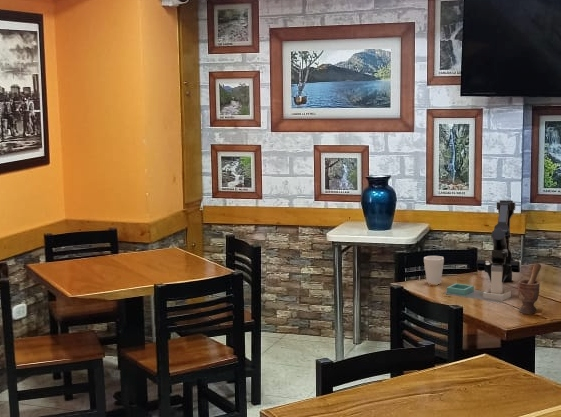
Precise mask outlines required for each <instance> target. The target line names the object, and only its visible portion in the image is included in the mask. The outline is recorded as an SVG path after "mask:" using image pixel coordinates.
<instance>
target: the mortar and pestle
mask: <svg viewBox="0 0 561 417" xmlns="http://www.w3.org/2000/svg"><path fill="white" fill-rule="evenodd" d="M541 268H542V265H541V264H540V263H537V262H536V263H535V264H534V265H533V268H532V271H531V275H530V278H529V279H520V280H518V282H517V295H518V297H519V300H520V301H521V303H522V305H521V306H520V307H519V308H518V312H519V313H520V314H521V313H522V314H523V315H534V314H536V313H537V310H538V309H537V307H535V303H536V302H537V301H538V299H539V296H540V289H541V288H540V285H541V284H540V281H538V280H536V279H537V277H538V274H539V273H540V271H541Z"/></svg>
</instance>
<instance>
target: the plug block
mask: <svg viewBox="0 0 561 417" xmlns="http://www.w3.org/2000/svg"><path fill="white" fill-rule="evenodd" d="M502 276H503V265H492V267H491V281H490V289H491V293H492V294H499V295H502V294H503V290H504V288H503V285H504V283H502Z"/></svg>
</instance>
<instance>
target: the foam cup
mask: <svg viewBox="0 0 561 417" xmlns="http://www.w3.org/2000/svg"><path fill="white" fill-rule="evenodd" d="M423 263H424V264H423V265H424V271H425V277H426V278H425V279H426V283H427V282H428V283H431V284H439V283H442V277H443V276H442V275H443V269H444V263H445V258H444V256H440V255H427V256H424V257H423Z"/></svg>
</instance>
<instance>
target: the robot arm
mask: <svg viewBox="0 0 561 417" xmlns="http://www.w3.org/2000/svg"><path fill="white" fill-rule="evenodd" d="M496 211H498V212H497V213H498V220H497V223H496V224H495V225H494V227H493V228H494V229H493V230H492V232H491V235H490V236H491V237H490V238H491V239H492V245H493V249H492V250H491V257H490V258H491V259H490V260H491V262H490V261H487V260H486V259H483V258H481V259H480V258H478V259H476V264H475V266H476V270H477V271H478V272H480V271H481V272H482V271H483V272H484V273H487V276H488V277H489V278H488V279H489V280H490V282H491V267H492V265H503V276H502V283H503V284H504V283H506V284H507V283H514V280H513V273H521V263H520V261H519V260H515V258H514V257H513V253H512V251H511V249H510V239H511V237H512V233H511V219H512V217H513V215H514V214H515V211H516V202H514V200H509V199H506V200H504V199H503V200H501V199H500V200H499V202H496Z"/></svg>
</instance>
